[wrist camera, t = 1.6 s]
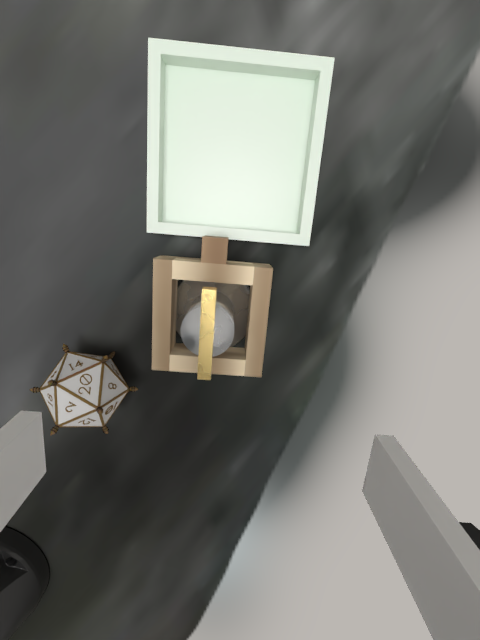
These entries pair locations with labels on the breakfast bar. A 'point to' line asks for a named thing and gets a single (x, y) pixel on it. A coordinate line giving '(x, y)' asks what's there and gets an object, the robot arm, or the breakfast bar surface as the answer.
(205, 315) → the grey piece
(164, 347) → the tan wooden square frame
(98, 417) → the game die
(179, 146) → the tray
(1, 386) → the breakfast bar surface
